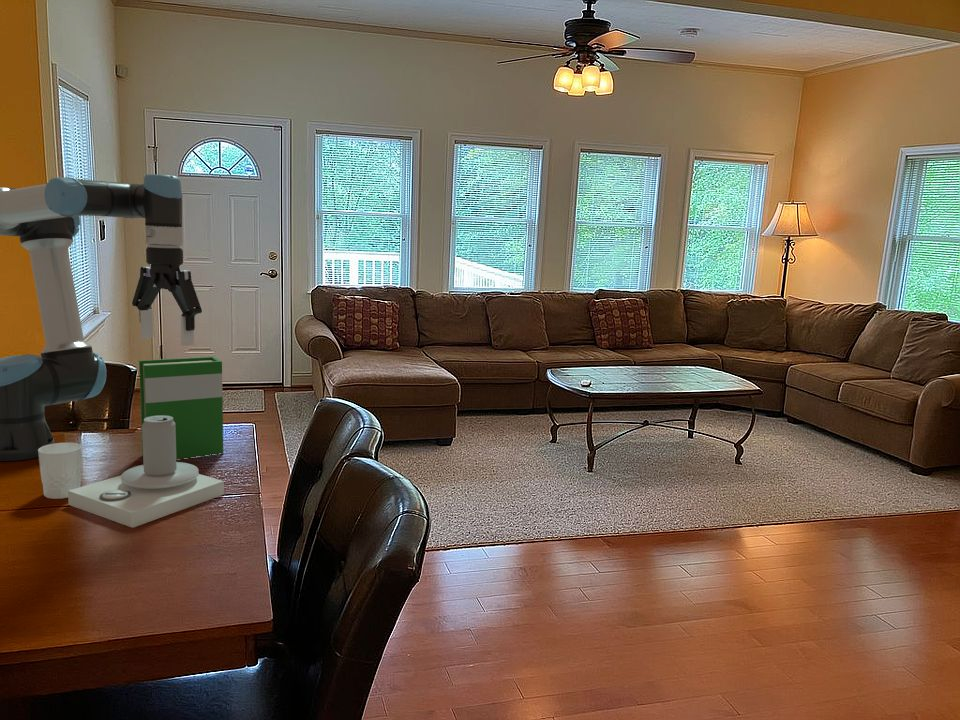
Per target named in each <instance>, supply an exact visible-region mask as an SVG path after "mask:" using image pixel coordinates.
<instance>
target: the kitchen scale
mask: <svg viewBox="0 0 960 720" xmlns="http://www.w3.org/2000/svg"><path fill="white" fill-rule="evenodd" d="M176 464H177V469H176V470H175V471H174V472H173V473H172V474H171V475H168V476H162V477H153V476H149V475H148V474H146V473H145V472H144V464H141V465H137V466H133V467H131V468H128V469H127V470H125V471H123V472H122V474H121V475H117V476H114V477H111V478H106V479H104V480H100V481H97V482H93V483H91V484H86V485H82V486H80V487H79V488H76V489H72V490H69V491H68V506H71V507H74V508H77V509H79V510H81V511H85V512H87V513H91V514H94V515H95V516H99V517H102V518H105V519H106V520H110V521H113V522H115V523H118V524H121V525H123V526H127V527H129V528H131V529H133V528H136V527H138V526H142V525H144V524H147V523H149V522H152V521H155V520H157V519H160V518H163V517H166V516H169V515H171V514H174V513H177V512H180V511H183V510H185V509H188V508H191V507H194V506H196V505H199V504H202V503H204V502H207V501H210V500H212V499H215V498H218V497H220V496H223V495H225V482H224V480H220V479H217V478H215V477H211V476H207V475H204V474H200V473H199V470H200V469H199V468H198V467H197V466H196V465H194V464H191V463H187V462H182V461H176Z"/></svg>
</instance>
